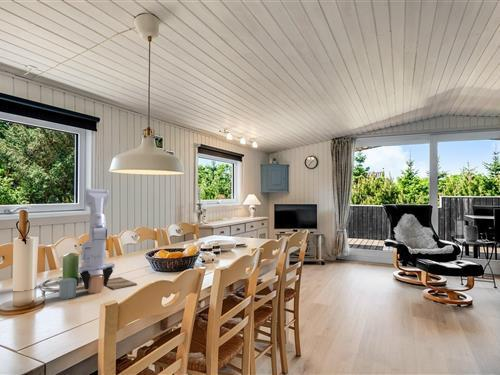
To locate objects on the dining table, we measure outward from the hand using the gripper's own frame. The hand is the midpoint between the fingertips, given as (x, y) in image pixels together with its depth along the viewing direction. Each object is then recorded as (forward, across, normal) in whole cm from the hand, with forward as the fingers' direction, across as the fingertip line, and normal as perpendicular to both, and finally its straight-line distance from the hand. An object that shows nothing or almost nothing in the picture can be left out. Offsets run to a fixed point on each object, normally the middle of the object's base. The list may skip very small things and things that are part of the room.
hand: (95, 287), depth 134 cm
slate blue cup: (+2, -11, 0) cm, 11 cm away
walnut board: (+2, +12, +5) cm, 13 cm away
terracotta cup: (+2, 0, 0) cm, 2 cm away
